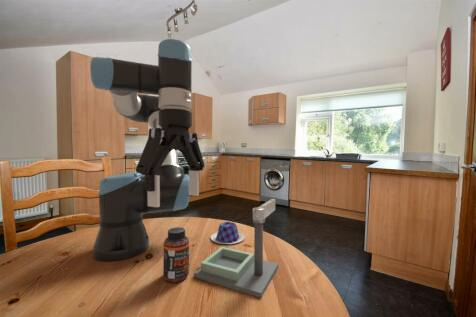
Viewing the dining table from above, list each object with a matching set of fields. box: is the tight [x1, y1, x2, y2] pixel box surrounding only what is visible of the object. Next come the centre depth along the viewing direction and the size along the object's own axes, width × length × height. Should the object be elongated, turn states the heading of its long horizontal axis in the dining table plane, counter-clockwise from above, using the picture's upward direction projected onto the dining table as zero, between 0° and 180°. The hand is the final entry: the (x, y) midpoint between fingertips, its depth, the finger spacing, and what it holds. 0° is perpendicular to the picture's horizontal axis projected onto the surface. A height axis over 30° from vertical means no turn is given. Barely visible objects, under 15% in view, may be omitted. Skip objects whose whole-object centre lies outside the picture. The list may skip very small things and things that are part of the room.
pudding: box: [210, 221, 246, 245], centre depth 75 cm, size 12×12×5 cm
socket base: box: [193, 222, 279, 299], centre depth 54 cm, size 17×13×13 cm
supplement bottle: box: [162, 226, 190, 283], centre depth 52 cm, size 6×6×11 cm
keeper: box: [252, 198, 276, 224], centre depth 56 cm, size 13×3×3 cm, turn 154°
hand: (176, 200), depth 51 cm, fingers open, 13 cm apart
